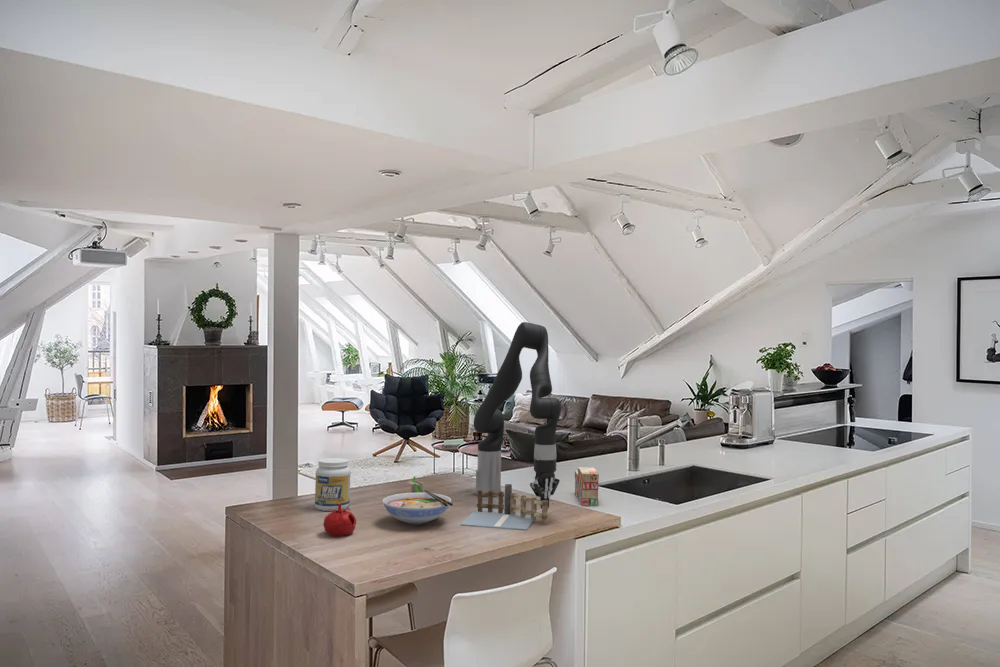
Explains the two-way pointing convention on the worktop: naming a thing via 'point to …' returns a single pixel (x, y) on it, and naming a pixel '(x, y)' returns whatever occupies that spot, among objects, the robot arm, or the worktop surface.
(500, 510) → the fixed fence
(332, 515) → the pomegranate
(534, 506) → the hinged fence panel
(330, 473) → the supplement tub
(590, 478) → the stack of blocks
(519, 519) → the card
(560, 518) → the worktop surface
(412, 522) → the ramen bowl
